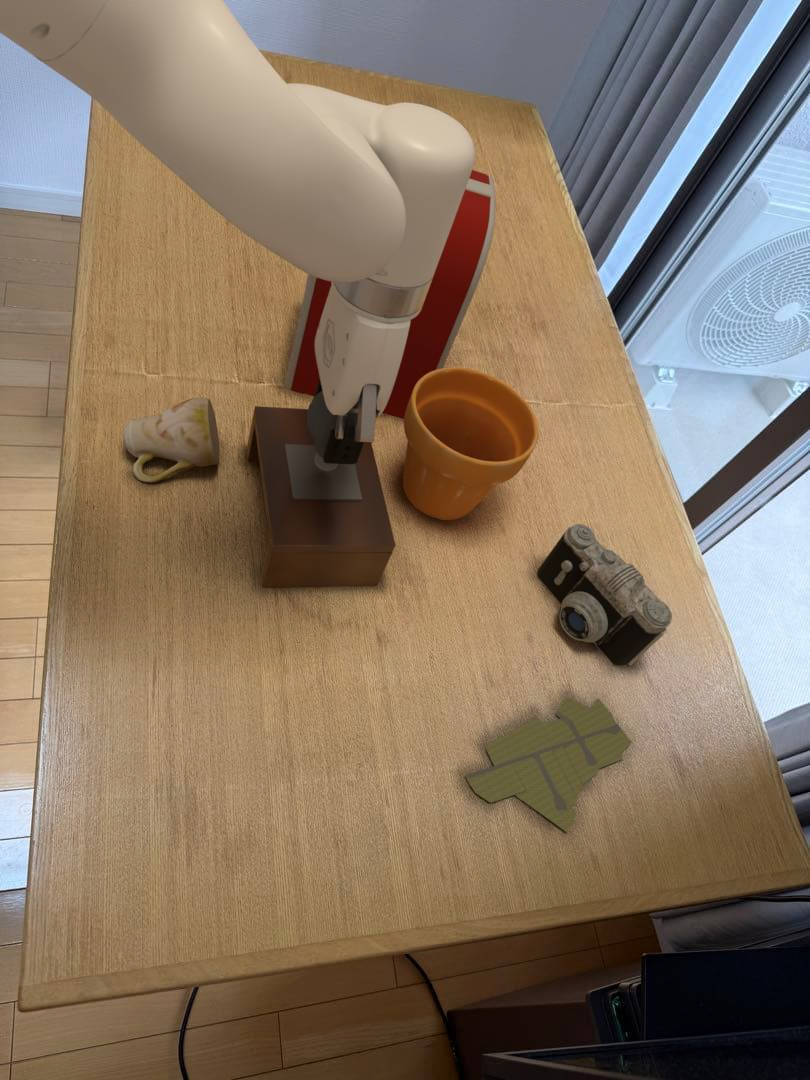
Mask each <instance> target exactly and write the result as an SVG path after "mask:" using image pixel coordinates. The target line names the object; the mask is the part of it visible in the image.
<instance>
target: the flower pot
mask: <svg viewBox="0 0 810 1080" xmlns="http://www.w3.org/2000/svg"><path fill="white" fill-rule="evenodd" d="M403 430H404V435H405V438H406V440H407V443H406V451H405V459H404V460H405V461H404V469H403V480H402V481H403V483H402V485H403V486H402V487H403V491H404V494H405V496H406V498H407V500H408V501H409V502H410V503H411V505H412V506H414V507H415V509H417V510H418V511H420V512H421V513H422V514H424V515H426V516H429V517H431V518H435V519H438V520H441V521H442V520H443V521H454V520H458V519H461V518H464V517H465V516H467V515H468V514H470V513H471V511H472V510H473V509H475V508H476V507H477V506H478V504H480V503H481V502H482V501H483V500H484V499H485V498H486V497H487V496H488V495H489V494H490V493H491V492H492V491H493V490H494V488H495V487H496V486H498V485H500V484H503V483H506V482H507V481H509V480H511V479H513V478H515V476H517V474H519V472H520V471H521V470H522V469H523V468H524V466H525V464H526V463H527V462H528V460H529V458H530V457H531V455H532V453H533V452H534V450H535V448H536V446H537V444H538V441H539V435H540V434H539V424H538V420H537V417H536V415H535V412H534V410H532V408H531V406H530V404H529V403H528V402H527V401H526V400H525V398H523V396H522V395H521V394H520V393H518V392H517V390H515V389H514V388H513V387H512V386H510V385H509V384H508V383H506V382H504V381H502V380H501V379H499V378H497V377H495V376H493V375H491V374H488V373H486V372H483V371H480V370H477V369H472V368H468V367H460V366H457V367H456V366H450V367H449V366H448V367H443V368H441V369H437V370H434V371H432V372H429V373H427V374H426V375H424V376H423V377H422V378H421V379H420V380H419V381H418V382H417V383H416V385H415V387H414V389H413V391H412V394H411V397H410V400H409V403H408V406H407V409H406V412H405V416H404V418H403Z"/></svg>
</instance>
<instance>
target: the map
mask: <svg viewBox="0 0 810 1080" xmlns="http://www.w3.org/2000/svg"><path fill="white" fill-rule="evenodd" d="M555 715H556V717H558V718H559V719H556V720H553V721H549V722H546V723H543V724H541V721H540V720H539V718H538V716H537V714H534V716H533V717H532V718H531V719H530V720H529V721H527V722H526V723H523V724H522V725H520V726H518V727H517V728H514V729H513V730H512V731H510V732H508V733H506V734H505V735H503V736H502V737H500V738H498V739H496V740H495V741H493V742H492V743H490V744H488V745H486V746H485V751H486V752H487V755H488V757H489V758H490V761H491V762H492V766H490V767H487V768H483V769H481V770H478V771H475V772H472V773H469V774H467V775H464V777H465V779H466V781H467V783H468V784H469V786H470V787H471V789H472V791H473V792H474V793H475V794H476V795H477V796H478V797H481V798H482V799H484V800H485V801H487V802H488V803H491V804H492V803H496V802H498V801H501V800H503V799H506V798H507V799H508V798H509V797H512V796H515V797H516V798H518V799H519V800H520V801H522V802H523V803H525V804H526V805H528V806H529V807H531V808H532V809H533V810H535V811H536V812H538V813H539V814H540V815H542V816H543V817H544V818H546V819H547V820H549V821H550V822H552V823H553V824H554V825H556V826H557V827H559V828H560V829H561V830H563V831H564V832H565V833H569V830H570V828H571V826H572V824H573V822H574V820H575V818H576V816H577V813H576V812H575V810H574V809H573V808H574V806H575V804H576V801H577V800H578V798H579V794H580V792H581V790H582V789H583V786H584V785H585V784H587V783H588V782H589V781H591V779H592V778H593V777H595V776H596V775H597V774H598V773H599V769H601V768H604V767H607V766H608V765H610V764H614V763H617V762H619V761H622V760H623V759H624V757H623V751H625V750H626V749H627V748H628V747H629V746H630V745H631V744H632V743H633V741H632V740H631V739H630V738H629V737H628V736H627V735H626V733H625V732H624V731H623V729H622V728H621V727H620V726H619V724H618V723H617V722H616V721H615V719H614V716H613V713H612V711H610V710H609V709H608V708H607V707H606V705H605V704H604V703H603V702H602V700H600V698H599V697H597V699H596V700H595V702H594V703H593V705H592V706H591V708H589V707H587V706H585V705H583V704H581V703H580V702H578V701H576V700H575V699H573V698H571V697H570V696H567V697H566V698H565V700H564V701H563V703H562V704H561V706H560V707H559V708H558V710H557V712H556V713H555Z"/></svg>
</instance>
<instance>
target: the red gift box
mask: <svg viewBox="0 0 810 1080" xmlns="http://www.w3.org/2000/svg"><path fill="white" fill-rule="evenodd" d="M494 183H495V182H494V179H493V177H492V176H491V175H490V174H487V173H485V172H481V171H477V170H474V169H472V172H471V175H470V178H469V180H468V183H467V186H466V189H465V191H464V194H463V197H462V200H461V202H460V205H459V208H458V210H457V213H456V216H455V219H454V221H453V224H452V227H451V230H450V232H449V235H448V238H447V241H446V243H445V246H444V249H443V251H442V254H441V257H440V259H439V262H438V265H437V268H436V270H435V273H434V276H433V279H432V282H431V285H430V287H429V290H428V293H427V295H426V298H425V301H424V304H423V306H422V309H421V311H420V313H419V314H418V315H417V316H416V317H415V318H413V319H411V322H410V327H409V332H408V336H407V340H406V345H405V348H404V352H403V356H402V360H401V363H400V367H399V370H398V374H397V377H396V380H395V383H394V386H393V389H392V392H391V395H390V398H389V400H388V403H387V405H386V407H385V409H384V411H383V412H382V414H385V415H388V416H393V417H396V418H401V419H404V416H405V412H406V409H407V406H408V403H409V400H410V397H411V394H412V391H413V389H414V387H415V385H416V383H417V382H418V381H419V380H420V379H421V378H422V377H423V376H424V375H426V374H427V373H429V372H432V371H434V370H437V369H441V368H445V365H446V362H447V360H448V357H449V355H450V352H451V350H452V348H453V345H454V342H455V340H456V338H457V336H458V333H459V330H460V329H461V327H462V324H463V322H464V320H465V316H466V314H467V312H468V310H469V307H470V304H471V302H472V301H473V297H474V295H475V293H476V290H477V287H478V285H479V283H480V279H481V277H482V274H483V271H484V268H485V265H486V263H487V258H488V255H489V253H490V249H491V245H492V241H493V236H494V231H495V222H496V205H497V204H496V190H495V184H494ZM331 282H332V281H327V280H323V279H320V278H317V277H314V276H312V275H310V274H307V276H306V282H305V288H304V291H303V297H302V302H301V305H300V306H301V307H300V312H299V317H298V322H297V325H296V331H295V335H294V340H293V343H292V348H291V349H292V350H291V352H290V358H289V361H288V367H287V371H286V376H285V381H284V387H285V388H286V390H289V391H290V390H291V391H292V392H296V393H300V394H304V395H309V396H313V397H315V393H316V389H317V386H318V382H319V378H320V376H319V371H318V365H317V360H316V354H315V337H316V333H317V330H318V326H319V323H320V320H321V317H322V313H323V310H324V307H325V304H326V300H327V297H328V294H329V291H330V288H331V285H332V284H331Z"/></svg>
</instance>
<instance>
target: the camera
mask: <svg viewBox="0 0 810 1080" xmlns="http://www.w3.org/2000/svg"><path fill="white" fill-rule="evenodd" d="M536 578H537V580H539V582H540V583H541V584H542V585H543V586H544V587H545V589H546V590H547V591H548V592H549V593H550V594H551V596H552V597H553V599H555V601H556V602H558V604H559V605H560V611H559V614H558V615H559V616H558V617H559V622H560V625H561V628H562V629H563V631H564V632H565V633H566V634H567V635H568V636H569V637H570V638H572V639H573V640H576V641H581V642H585V643H593V644H594V645H595V647H596V648H597V649H598V650H599V651H600V653H601V654H602V655H603V656H604V657H605V658H606V659H607V660H608V662H609V663H610V664H611V665H612V666H615V667H625V666H627V665H628V666H629V667H631V666H632V665H633V664H634V663H635V662H636V661H638V660H639V659H640V658H641V657H642V656H643V655H644V654H645V653H646V652H647V651H649V649H650V648H651V647H652V646H653V645H654V644H656V643H657V642H658V641H659V640H660V639H661V638H662V637H663V636H664V635H665V634H666V633H667V632H668V629H667V628H668V627H669V626H670V625H671V623H672V619H673V612H672V611H671V609H670V607H669V606H668V605H667V603H665V602H664V601H662V600H661V599H660V598H659V597H658V596H657V595H656V594H655V593H654V591H652V590H651V588H649V586H648V585H647V584H646V583H645V581H646V580H645V579H644V575H643V574H642V573H641V572H640V571H639V570H638V569H637V568H636V567H635V566H634V565H633V564H632V563H626V562H625V561H624V559H623V558H622V557H621V556H620V555H619V554H617V553H616V552H615V551H614V550H612V549H606V548H605V547H604V546H603V545H602V544H601V543H600V542H599V540H597V537H596V534H595V532H594V531H593V530H592V528H590V527H589V526H587V525H585V524H582V523H575V524H573V525H572V526H569V527H567V529H566V530H565V531H564V533H563V534H562V535H561V537H560V538H559V539H558V541H557V543H556V544H555V545H554V546H553V548H552V549H551V551H550V552H549V553H548V555H547V556H546V558H545V559H544V560H543V561H542V563H541V565H539V567H538V568H537V571H536Z"/></svg>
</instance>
